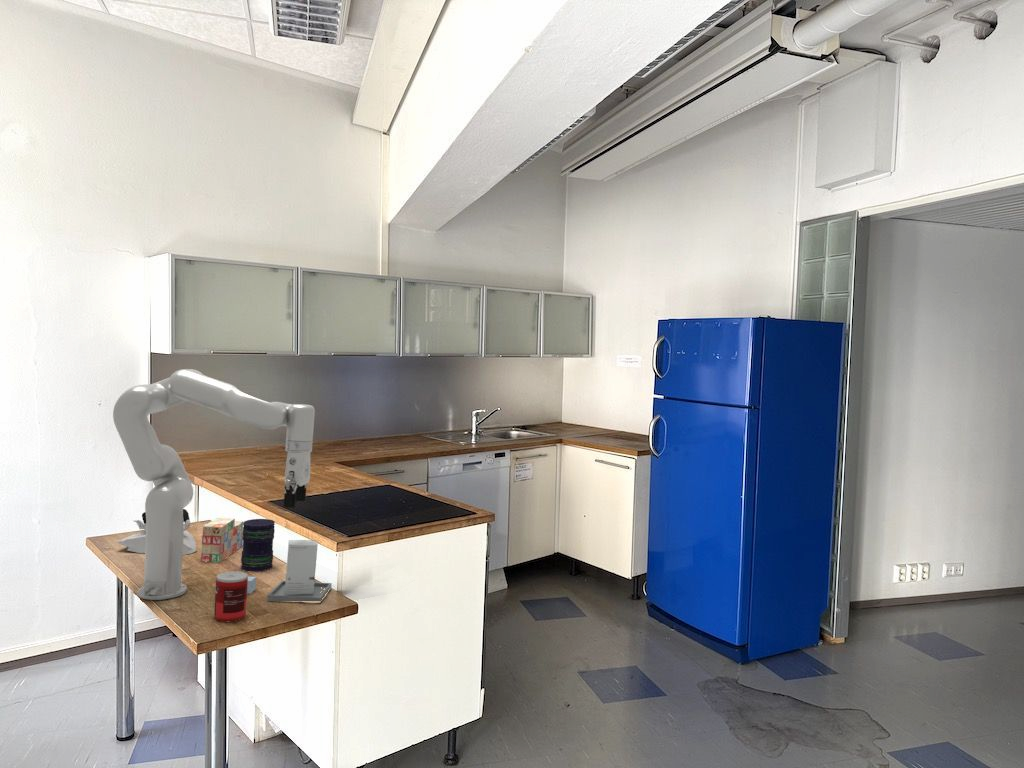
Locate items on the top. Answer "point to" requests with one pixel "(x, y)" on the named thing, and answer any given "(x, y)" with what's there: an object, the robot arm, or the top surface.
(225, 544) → the stack of blocks
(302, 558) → the skincare box
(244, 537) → the storage jar
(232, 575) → the canned food
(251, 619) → the top surface
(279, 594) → the slate tray
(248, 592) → the blue-grey painted block
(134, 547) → the iron
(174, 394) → the robot arm
